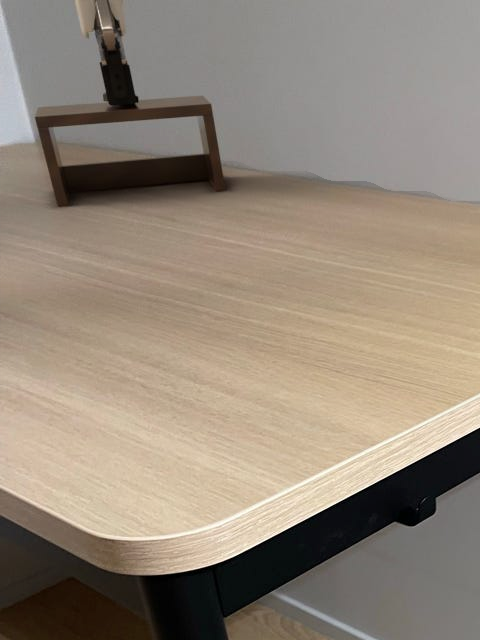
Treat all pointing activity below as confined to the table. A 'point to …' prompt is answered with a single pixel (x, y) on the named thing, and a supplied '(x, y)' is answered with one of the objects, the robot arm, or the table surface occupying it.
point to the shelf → (136, 169)
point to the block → (107, 99)
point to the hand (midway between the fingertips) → (121, 100)
